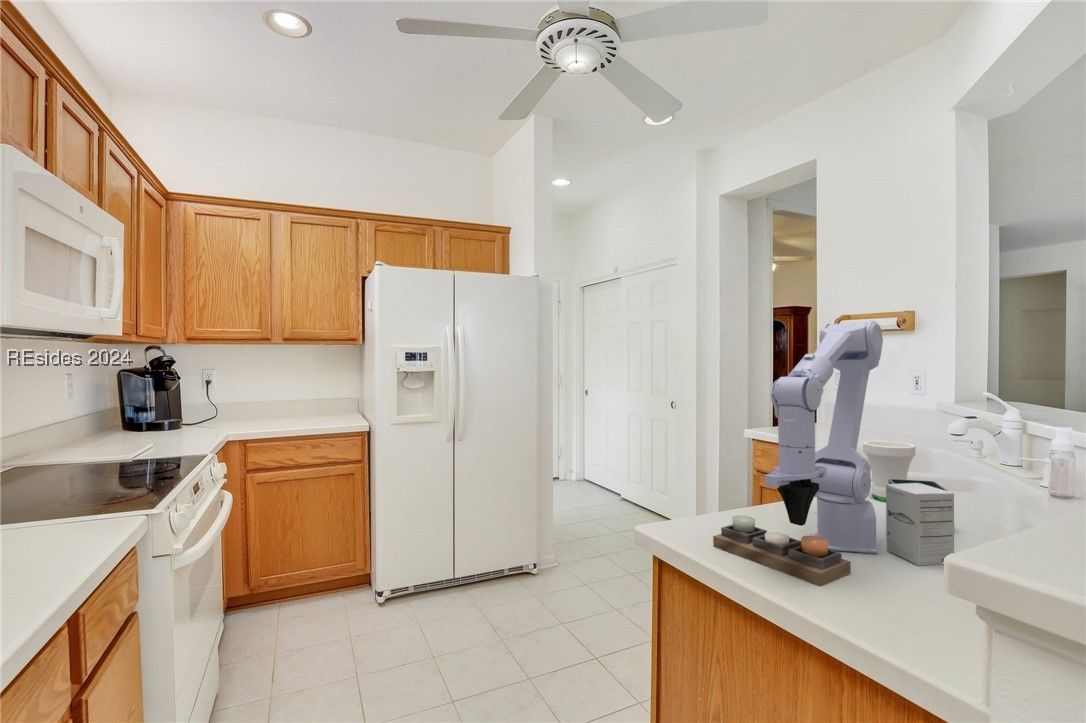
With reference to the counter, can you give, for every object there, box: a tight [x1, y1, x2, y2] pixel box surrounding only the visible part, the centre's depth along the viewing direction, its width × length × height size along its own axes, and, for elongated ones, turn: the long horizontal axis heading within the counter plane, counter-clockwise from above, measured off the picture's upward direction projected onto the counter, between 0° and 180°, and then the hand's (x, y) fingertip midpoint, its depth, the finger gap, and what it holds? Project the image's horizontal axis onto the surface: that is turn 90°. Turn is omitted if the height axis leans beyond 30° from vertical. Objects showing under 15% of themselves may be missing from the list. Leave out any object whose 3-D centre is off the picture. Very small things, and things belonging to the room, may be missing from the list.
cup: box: [862, 440, 917, 502], centre depth 131 cm, size 11×11×14 cm
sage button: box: [732, 515, 756, 532], centre depth 98 cm, size 4×4×2 cm
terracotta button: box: [800, 535, 828, 556], centre depth 86 cm, size 4×4×2 cm
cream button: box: [765, 531, 790, 546], centre depth 92 cm, size 4×4×2 cm
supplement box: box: [885, 483, 955, 566], centre depth 92 cm, size 7×7×13 cm
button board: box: [712, 524, 852, 587], centre depth 92 cm, size 21×9×4 cm, turn 31°
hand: (797, 523), depth 89 cm, fingers closed
